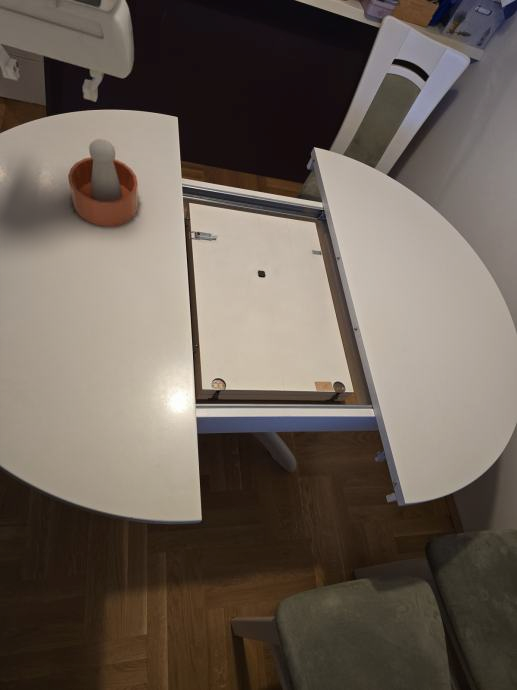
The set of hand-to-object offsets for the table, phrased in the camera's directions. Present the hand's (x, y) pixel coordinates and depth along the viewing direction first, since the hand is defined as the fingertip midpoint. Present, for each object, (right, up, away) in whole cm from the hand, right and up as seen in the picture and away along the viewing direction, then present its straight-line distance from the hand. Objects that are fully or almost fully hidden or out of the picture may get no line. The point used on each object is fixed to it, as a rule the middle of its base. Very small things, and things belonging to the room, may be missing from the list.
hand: (52, 87), depth 51 cm
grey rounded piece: (-4, -5, +28) cm, 29 cm away
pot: (-4, -5, +28) cm, 29 cm away
